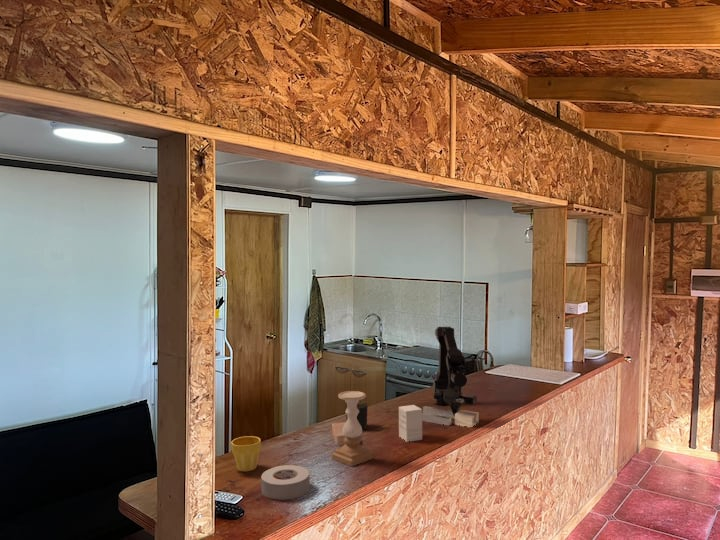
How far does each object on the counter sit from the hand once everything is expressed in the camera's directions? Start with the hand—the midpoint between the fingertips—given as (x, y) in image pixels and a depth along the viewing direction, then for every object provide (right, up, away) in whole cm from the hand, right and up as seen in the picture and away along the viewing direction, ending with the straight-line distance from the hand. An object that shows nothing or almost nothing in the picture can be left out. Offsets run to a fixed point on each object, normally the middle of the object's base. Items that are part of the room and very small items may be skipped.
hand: (455, 416), depth 245 cm
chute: (-8, -2, +5) cm, 9 cm away
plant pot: (-83, -5, -52) cm, 98 cm away
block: (+5, -3, -3) cm, 6 cm away
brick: (-49, -4, -21) cm, 54 cm away
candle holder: (-45, -4, -43) cm, 63 cm away
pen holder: (-44, -3, -8) cm, 45 cm away
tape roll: (-66, -5, -69) cm, 96 cm away
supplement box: (-22, -4, -22) cm, 31 cm away
